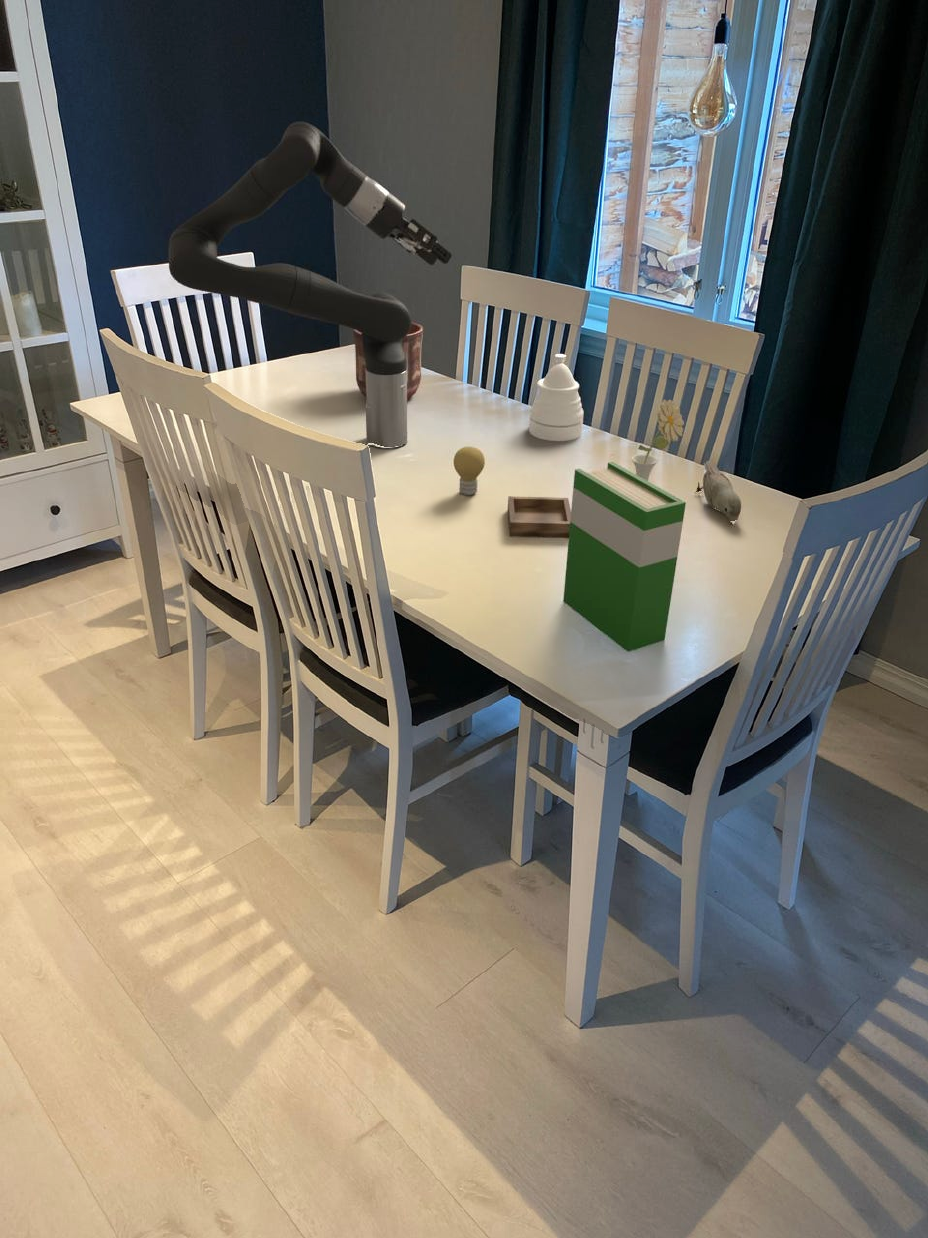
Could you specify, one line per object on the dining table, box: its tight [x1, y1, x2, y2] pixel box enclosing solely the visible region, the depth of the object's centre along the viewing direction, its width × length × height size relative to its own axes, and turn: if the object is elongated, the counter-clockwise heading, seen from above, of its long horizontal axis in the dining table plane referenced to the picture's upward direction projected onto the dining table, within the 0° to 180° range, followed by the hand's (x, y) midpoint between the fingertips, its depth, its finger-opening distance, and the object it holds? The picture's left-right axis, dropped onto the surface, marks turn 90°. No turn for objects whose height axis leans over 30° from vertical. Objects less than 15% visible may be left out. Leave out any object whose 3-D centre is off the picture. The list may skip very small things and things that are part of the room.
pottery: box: [352, 321, 424, 401], centre depth 249 cm, size 18×18×18 cm
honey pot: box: [528, 353, 585, 442], centre depth 230 cm, size 13×13×18 cm
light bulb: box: [453, 446, 486, 496], centre depth 199 cm, size 6×6×10 cm
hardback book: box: [562, 461, 687, 653], centre depth 153 cm, size 18×7×24 cm, turn 30°
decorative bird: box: [695, 460, 742, 522], centre depth 196 cm, size 5×16×8 cm, turn 10°
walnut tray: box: [507, 496, 571, 539], centre depth 189 cm, size 12×12×3 cm
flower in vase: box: [631, 399, 685, 482], centre depth 185 cm, size 13×11×25 cm
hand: (441, 260), depth 189 cm, fingers open, 8 cm apart
